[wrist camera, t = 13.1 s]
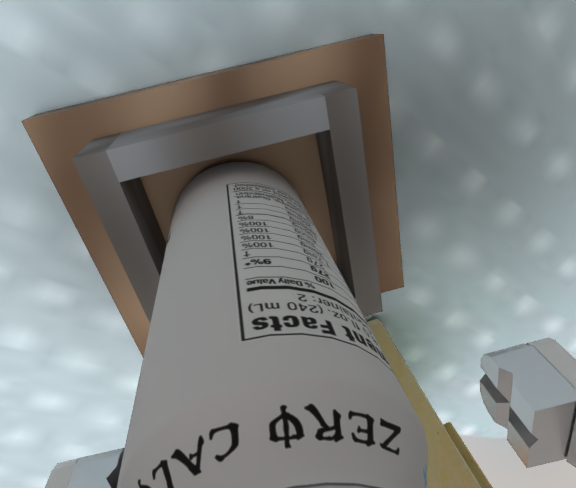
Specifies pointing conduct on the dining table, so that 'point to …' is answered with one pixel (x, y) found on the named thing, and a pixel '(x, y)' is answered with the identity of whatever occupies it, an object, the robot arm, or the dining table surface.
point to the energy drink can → (262, 356)
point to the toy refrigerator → (433, 427)
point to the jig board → (233, 148)
